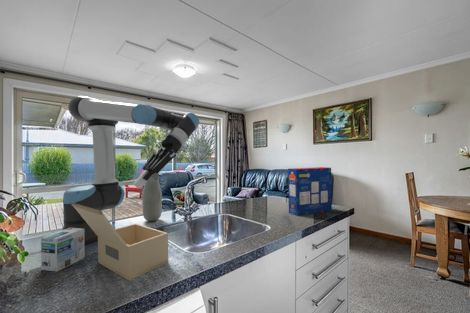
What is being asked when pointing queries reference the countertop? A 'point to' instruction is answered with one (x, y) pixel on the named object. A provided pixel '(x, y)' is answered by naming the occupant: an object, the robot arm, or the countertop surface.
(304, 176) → the blue product box
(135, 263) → the carton
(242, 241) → the countertop surface
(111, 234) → the carton flap
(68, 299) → the countertop surface
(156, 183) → the grey vase
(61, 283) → the countertop surface
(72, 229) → the light bulb box
